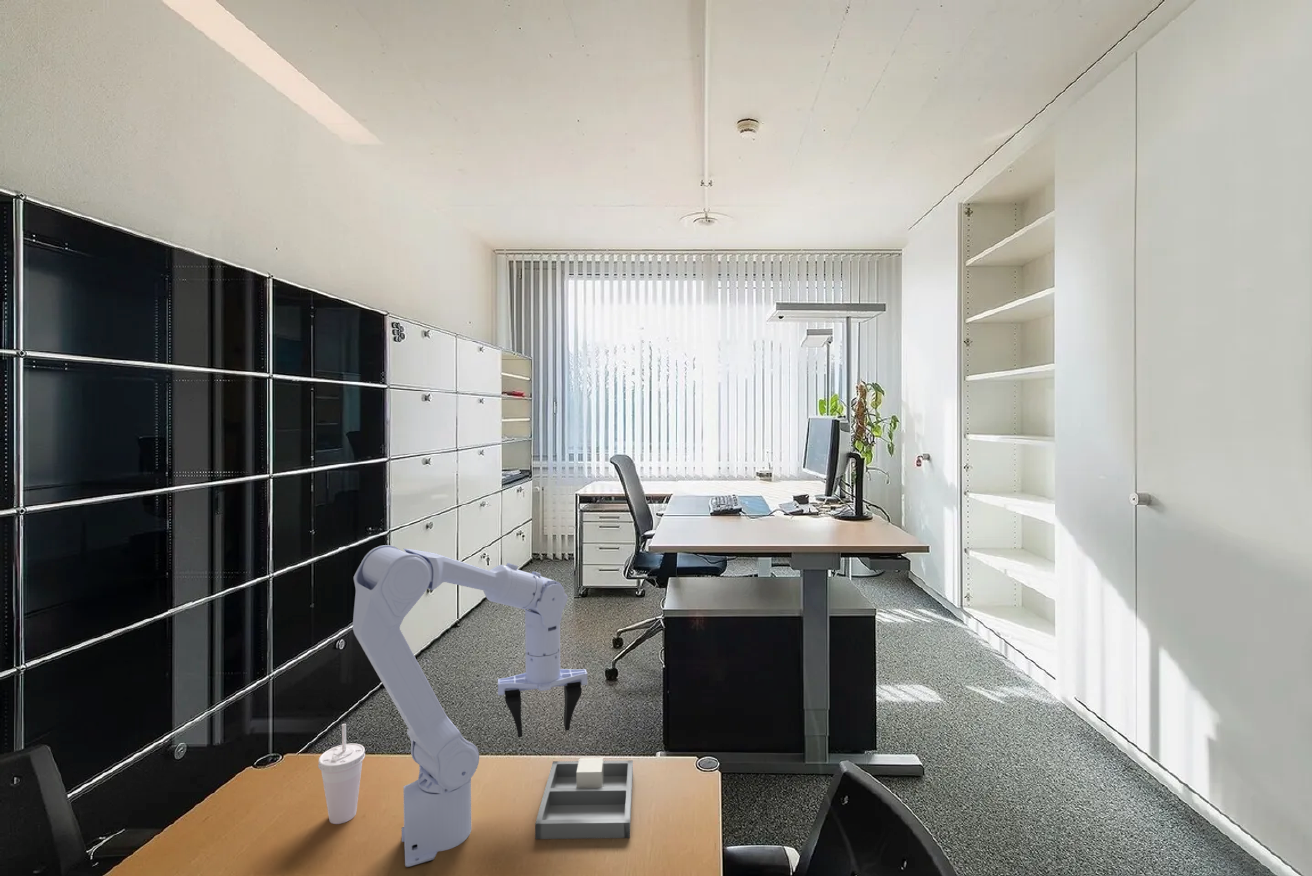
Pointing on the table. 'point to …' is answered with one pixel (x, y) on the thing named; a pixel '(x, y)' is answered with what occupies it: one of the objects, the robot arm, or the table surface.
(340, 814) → the smoothie
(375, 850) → the table surface
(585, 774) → the white block
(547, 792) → the divided tray
